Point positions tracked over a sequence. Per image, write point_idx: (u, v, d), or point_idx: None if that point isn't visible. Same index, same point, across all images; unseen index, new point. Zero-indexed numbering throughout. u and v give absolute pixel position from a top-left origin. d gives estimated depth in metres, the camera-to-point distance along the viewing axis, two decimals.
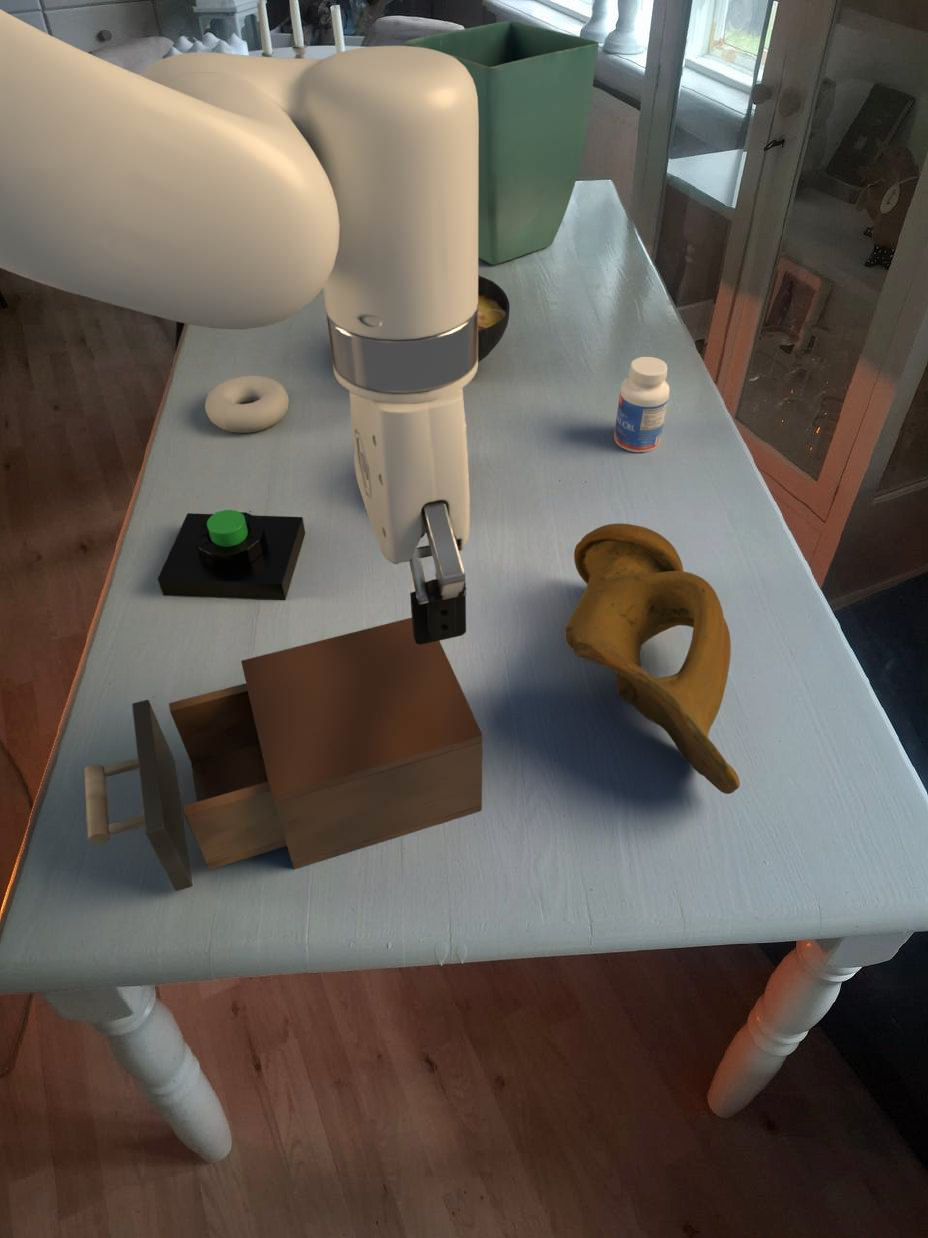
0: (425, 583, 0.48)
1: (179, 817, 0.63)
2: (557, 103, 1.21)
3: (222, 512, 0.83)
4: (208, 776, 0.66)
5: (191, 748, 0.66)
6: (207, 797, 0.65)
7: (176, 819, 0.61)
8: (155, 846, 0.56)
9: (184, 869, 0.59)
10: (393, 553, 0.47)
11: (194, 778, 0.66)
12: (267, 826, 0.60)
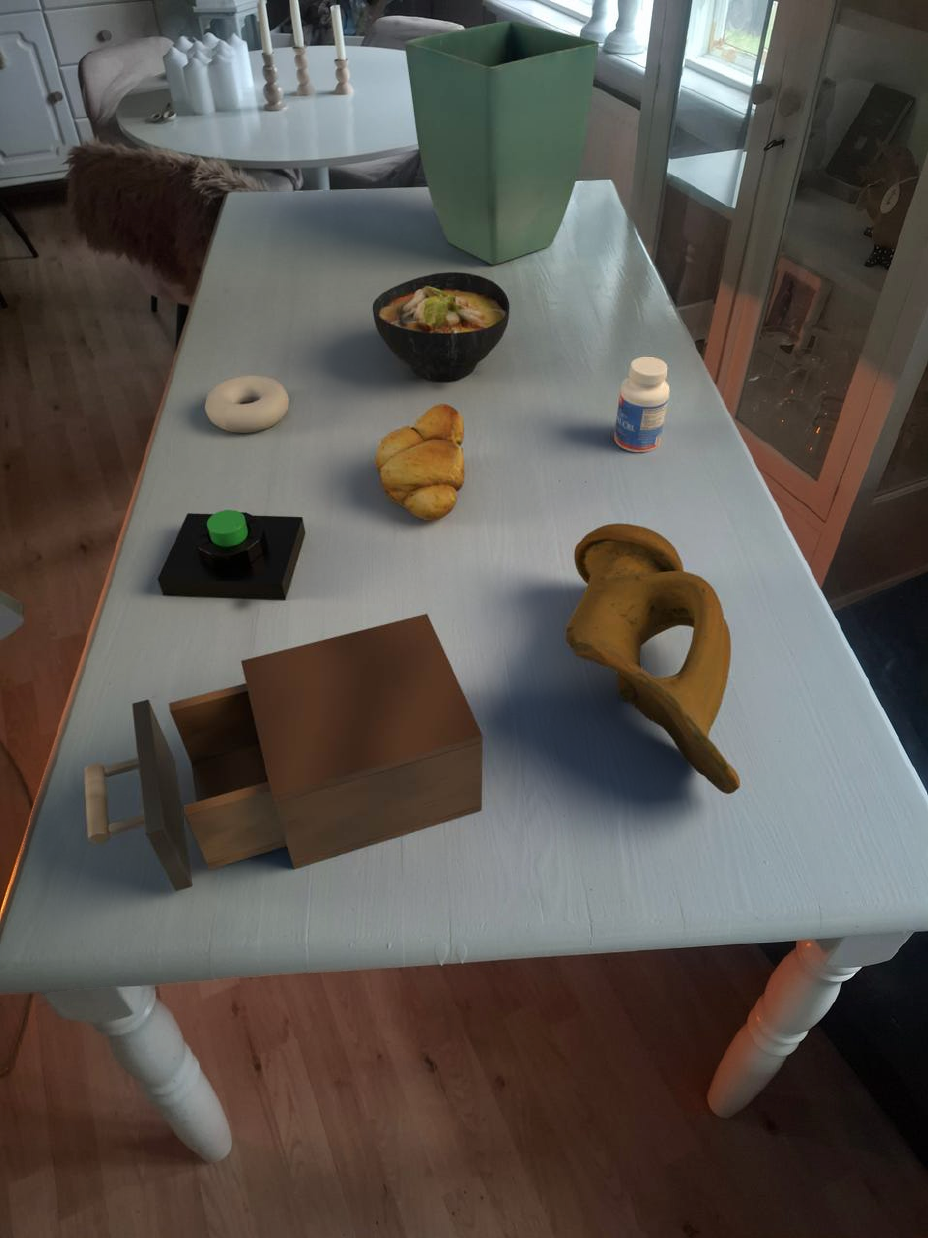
0: None
1: (179, 817, 0.63)
2: (557, 103, 1.21)
3: (222, 512, 0.83)
4: (208, 776, 0.66)
5: (191, 748, 0.66)
6: (207, 797, 0.65)
7: (176, 819, 0.61)
8: (155, 846, 0.56)
9: (184, 869, 0.59)
10: None
11: (194, 778, 0.66)
12: (267, 826, 0.60)
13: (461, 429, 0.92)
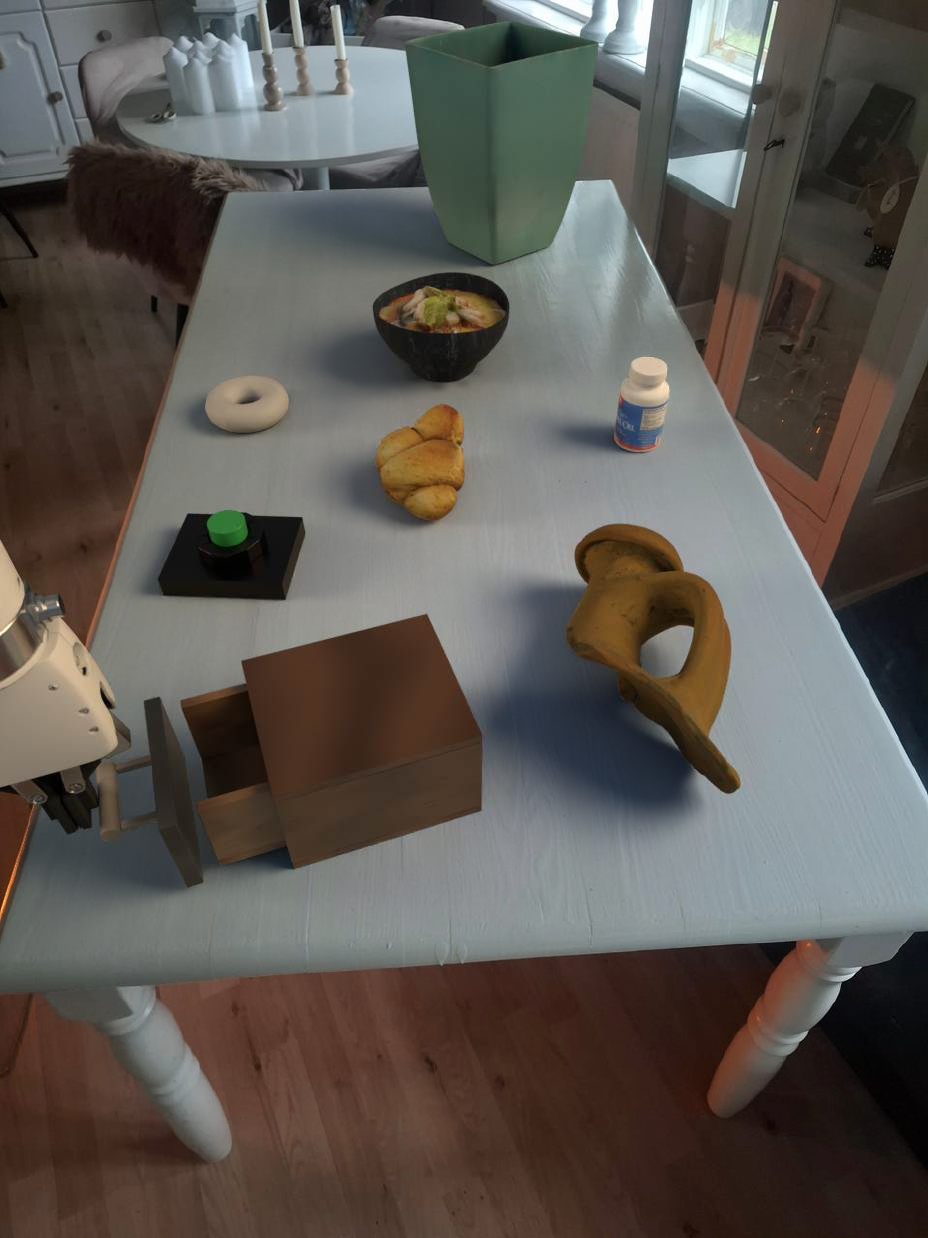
0: None
1: (190, 814, 0.63)
2: (557, 103, 1.21)
3: (222, 512, 0.83)
4: (219, 773, 0.66)
5: (202, 745, 0.66)
6: (218, 794, 0.65)
7: (187, 816, 0.62)
8: (168, 842, 0.56)
9: (196, 865, 0.59)
10: None
11: (205, 775, 0.66)
12: (279, 823, 0.60)
13: (461, 429, 0.92)
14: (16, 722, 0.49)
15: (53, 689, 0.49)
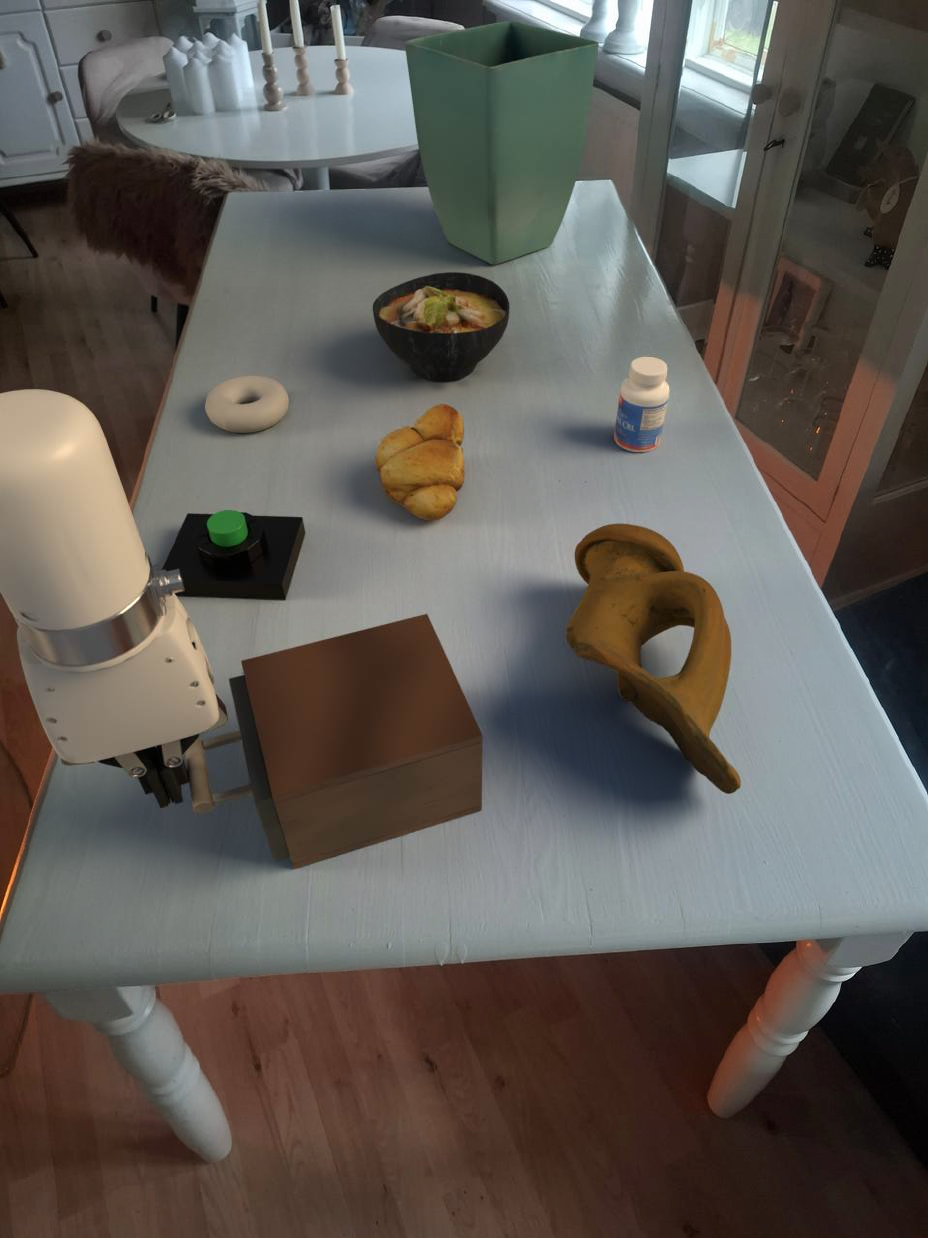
0: None
1: None
2: (557, 103, 1.21)
3: (222, 512, 0.83)
4: None
5: None
6: None
7: None
8: (262, 814, 0.58)
9: None
10: None
11: None
12: None
13: (461, 429, 0.92)
14: (132, 693, 0.51)
15: (170, 661, 0.51)
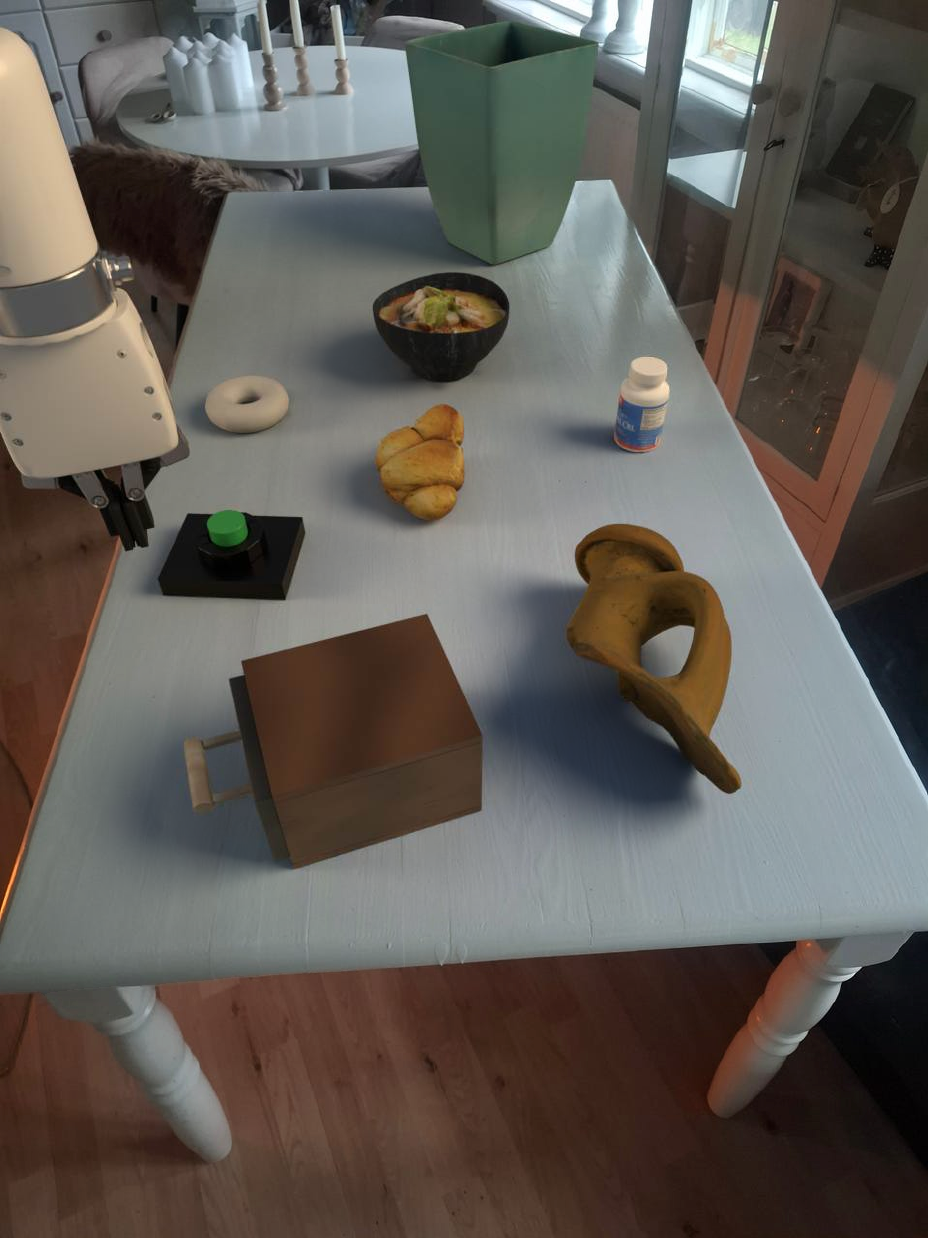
0: None
1: None
2: (557, 103, 1.21)
3: (222, 512, 0.83)
4: None
5: None
6: None
7: None
8: (262, 814, 0.58)
9: None
10: None
11: None
12: None
13: (461, 429, 0.92)
14: (85, 390, 0.51)
15: (121, 356, 0.51)
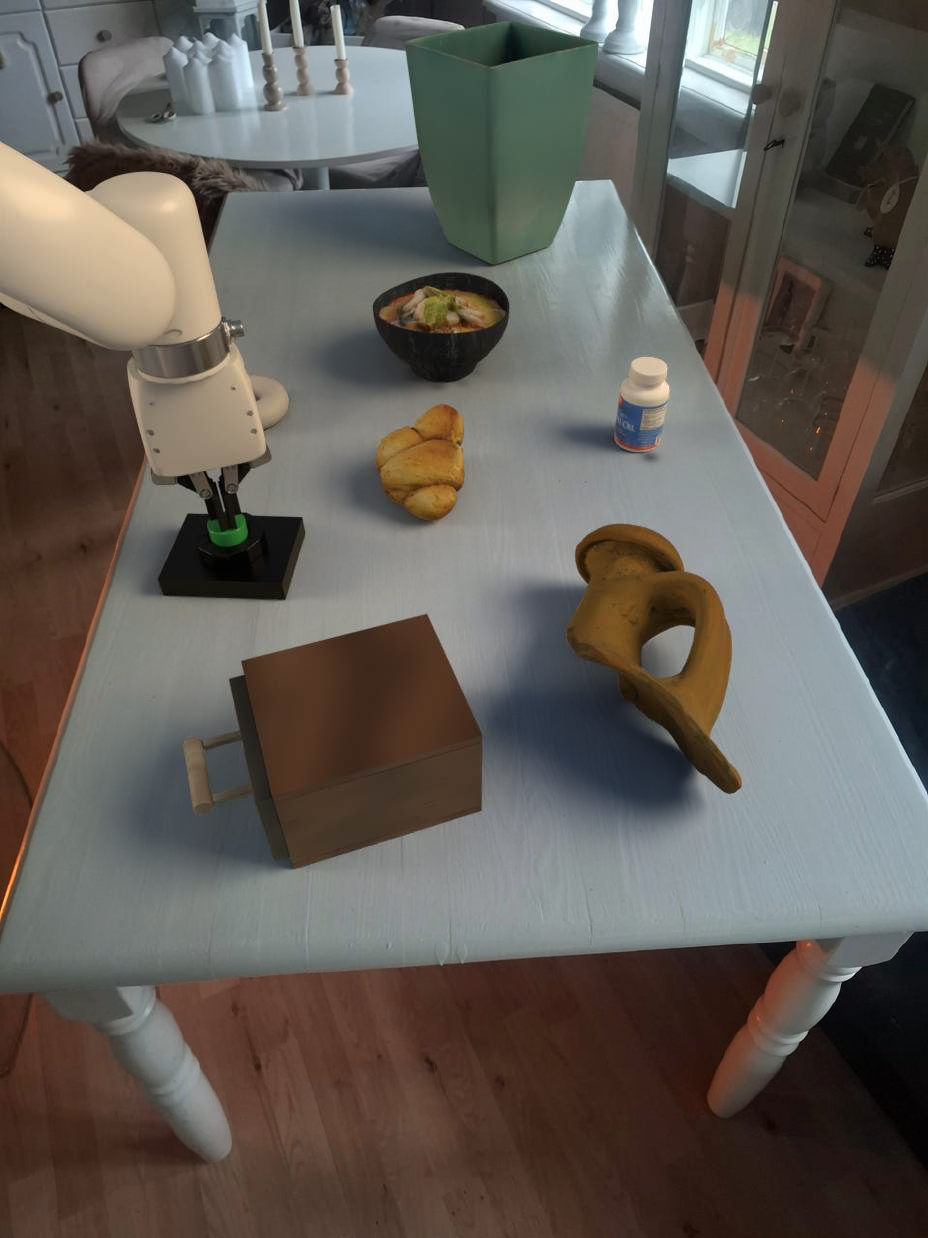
0: None
1: None
2: (557, 103, 1.21)
3: None
4: None
5: None
6: None
7: None
8: (262, 814, 0.58)
9: None
10: None
11: None
12: None
13: (461, 429, 0.92)
14: (207, 413, 0.72)
15: (233, 389, 0.71)
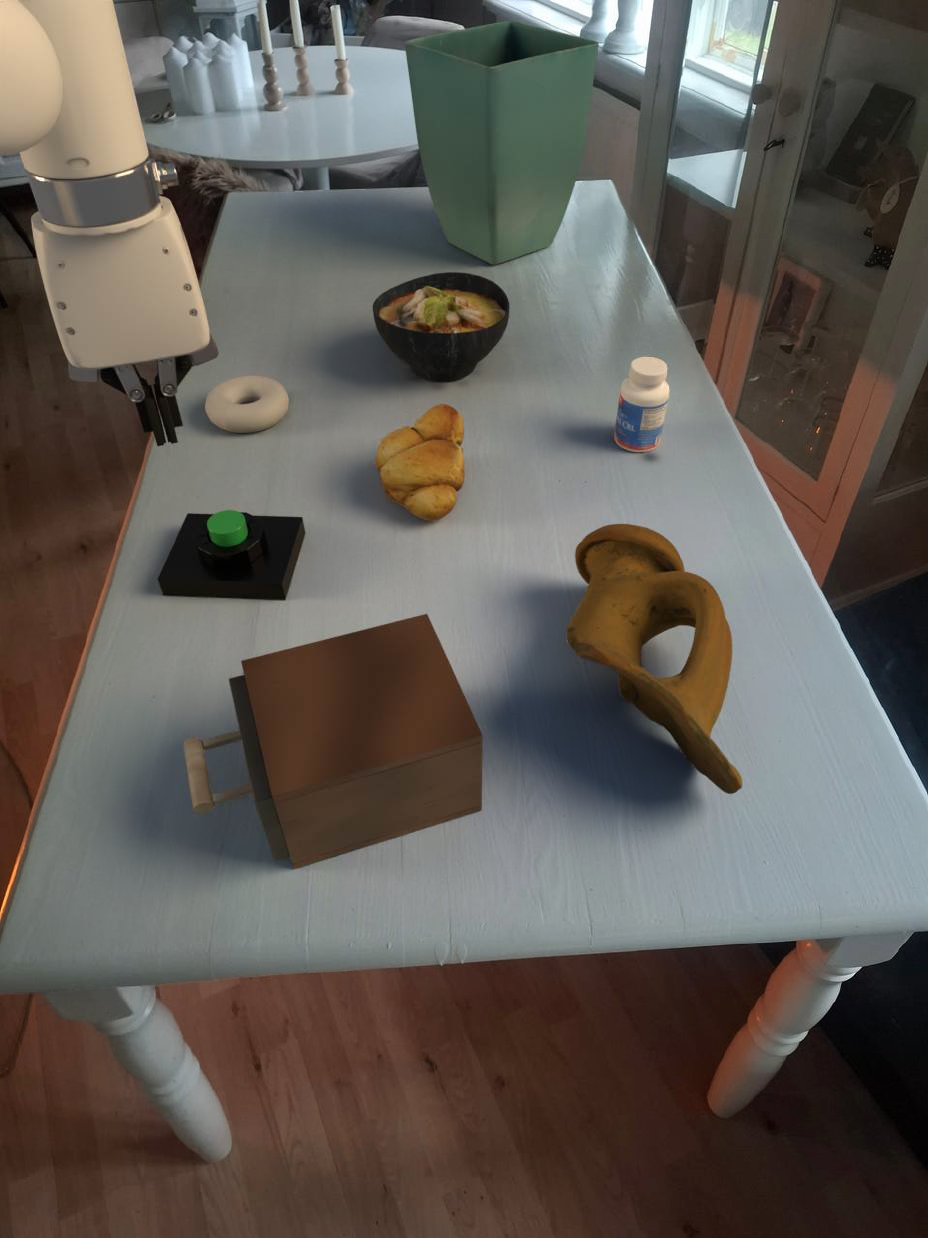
0: None
1: None
2: (557, 103, 1.21)
3: (222, 512, 0.83)
4: None
5: None
6: None
7: None
8: (262, 814, 0.58)
9: None
10: None
11: None
12: None
13: (461, 429, 0.92)
14: (132, 283, 0.58)
15: (166, 252, 0.57)
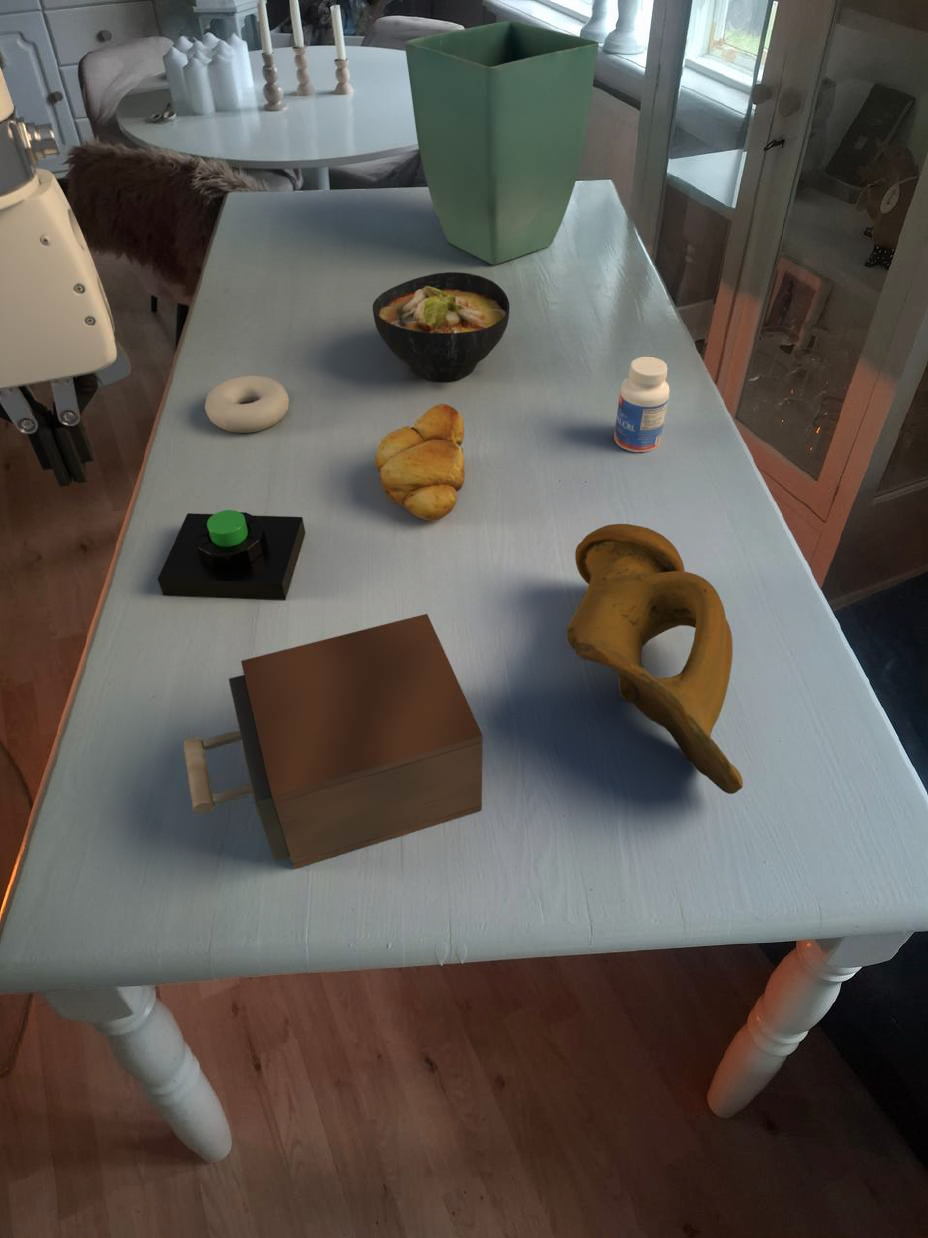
0: None
1: None
2: (557, 103, 1.21)
3: (222, 512, 0.83)
4: None
5: None
6: None
7: None
8: (262, 814, 0.58)
9: None
10: None
11: None
12: None
13: (461, 429, 0.92)
14: (3, 283, 0.44)
15: (45, 243, 0.44)
